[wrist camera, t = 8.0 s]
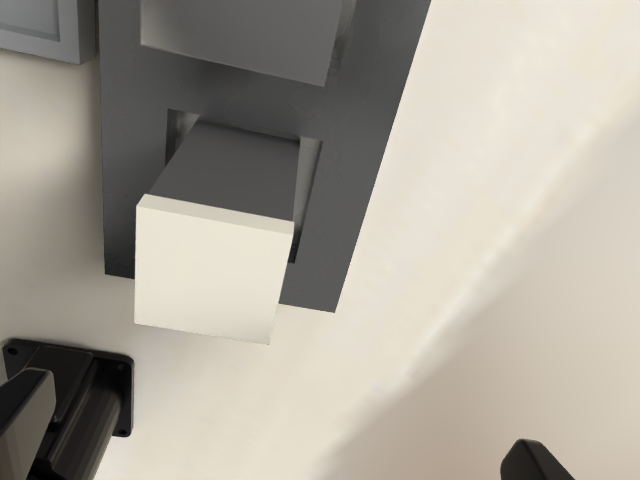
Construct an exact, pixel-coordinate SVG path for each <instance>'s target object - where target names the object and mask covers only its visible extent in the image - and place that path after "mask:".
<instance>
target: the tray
mask: <svg viewBox="0 0 640 480" xmlns="http://www.w3.org/2000/svg"><path fill="white" fill-rule="evenodd" d="M0 48H4V49H9V50H14V51H18V52H23V53H27V54H32V55H37V56H41V57H46V58H51V59H55V60H60V61H65V62H69V63H74V64H78V65H80V64H82V63H84V62H86V61H88V60H89V59H91V58H93V57H95V56H96V43H95V7H94V0H0Z"/></svg>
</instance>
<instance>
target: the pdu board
mask: <svg viewBox="0 0 640 480" xmlns="http://www.w3.org/2000/svg"><path fill="white" fill-rule="evenodd" d="M430 3H431V0H344V1H343V6H342V10H341V14H340V19H339V23H338V28H337V32H336V37H335V41H334V46H333V50H332V54H331V59H330V63H329V68H328V72H327V77H326V81H325V86H324V87H322V86H317V85H313V84H309V83H304V82H300V81H295V80H291V79H287V78H282V77H278V76H273V75H269V74H264V73H260V72H256V71H251V70H247V69H242V68H238V67H234V66H229V65H225V64H220V63H216V62H212V61H207V60H203V59H198V58H194V57H190V56H185V55H181V54H176V53H172V52H168V51H163V50H159V49H154V48H150V47H146V46H141V45H140V7H141V0H98V6H99V49H100V91H101V133H102V176H103V218H104V261H105V274H107V275H113V276H119V277H125V278H131V279H135V252H136V206H137V204H138V203H139V201H140V200H141V199H142V197H143V196H144V194H148V193H149V191H150V190H151V188H152V187H153V185H154V184H155V182H156V181H157V179H158V178H159V176H160V175H161V173H162V172H163V170H164V169H165V167H166V166H167V164H168V163H169V161H170V160H171V158H172V157H173V155H174V154H175V152H176V151H177V149H178V148H179V146H180V145H181V143H182V142H183V140H184V139H185V137H186V136H187V134H188V133H189V131H190V130H191V128H192V127H193V125H194V124H195V122H196V121H197V120H202V121H207V122H211V123H216V124H221V125H226V126H231V127H235V128H240V129H245V130H250V131H255V132H259V133H264V134H269V135H274V136H278V137H283V138H288V139H293V140H298V141H300V149H299V159H298V170H297V180H296V191H295V201H294V212H293V222H294V233H293V239H292V243H291V248H290V252H289V257H288V261H287V266H286V270H285V275H284V279H283V284H282V288H281V293H280V297H279V302H278V303H279V304H285V305H291V306H297V307H303V308H309V309H315V310H321V311H327V312H333V313H335V310H336V307H337V304H338V301H339V297H340V294H341V291H342V288H343V284H344V281H345V278H346V275H347V271H348V268H349V265H350V262H351V258H352V255H353V252H354V249H355V245H356V242H357V239H358V236H359V233H360V229H361V226H362V223H363V220H364V216H365V213H366V210H367V207H368V203H369V200H370V197H371V194H372V190H373V187H374V184H375V181H376V177H377V174H378V171H379V168H380V165H381V161H382V158H383V155H384V152H385V148H386V145H387V142H388V139H389V135H390V132H391V129H392V126H393V122H394V119H395V116H396V113H397V109H398V106H399V103H400V100H401V97H402V93H403V90H404V87H405V84H406V80H407V77H408V74H409V71H410V67H411V64H412V61H413V58H414V54H415V51H416V48H417V45H418V41H419V38H420V35H421V32H422V29H423V25H424V22H425V19H426V16H427V12H428V9H429V6H430Z"/></svg>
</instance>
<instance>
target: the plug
mask: <svg viewBox="0 0 640 480" xmlns="http://www.w3.org/2000/svg"><path fill="white" fill-rule="evenodd" d="M343 1H344V0H141V7H140V45H141V46H146V47H150V48H154V49H159V50H163V51H168V52H172V53H176V54H181V55H185V56H190V57H194V58H198V59H203V60H207V61H212V62H216V63H220V64H225V65H229V66H234V67H238V68H242V69H247V70H251V71H256V72H260V73H264V74H269V75H273V76H278V77H282V78H287V79H291V80H295V81H300V82H304V83H309V84H313V85H317V86H322V87H324V86H325V81H326V77H327V72H328V68H329V63H330V59H331V54H332V50H333V46H334V41H335V37H336V32H337V28H338V23H339V19H340V14H341V10H342V6H343Z"/></svg>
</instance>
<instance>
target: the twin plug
mask: <svg viewBox="0 0 640 480" xmlns="http://www.w3.org/2000/svg"><path fill="white" fill-rule="evenodd" d="M299 149H300V141H298V140H293V139H288V138H283V137H278V136H274V135H269V134H264V133H259V132H255V131H250V130H245V129H240V128H235V127H231V126H226V125H221V124H216V123H211V122H207V121H202V120H197V121H196V122H195V124H194V125H193V127H192V128H191V130H190V131H189V133H188V134H187V136H186V137H185V139H184V140H183V142H182V143H181V145H180V146H179V148H178V149H177V151H176V152H175V154H174V155H173V157H172V158H171V160H170V161H169V163H168V164H167V166H166V167H165V169H164V170H163V172H162V173H161V175H160V176H159V178H158V179H157V181H156V182H155V184H154V185H153V187H152V188H151V190H150V191H149V193H148V194H144V196H143V197H142V199H141V200H140V201H139V203H138V204H137V206H136V252H135V308H134V324H141V325H147V326H153V327H160V328H166V329H172V330H178V331H185V332H191V333H197V334H204V335H210V336H216V337H223V338H229V339H235V340H242V341H248V342H254V343H261V344H267V345H269V342H270V337H271V333H272V328H273V324H274V319H275V315H276V311H277V306H278V302H279V297H280V293H281V288H282V284H283V279H284V275H285V270H286V266H287V261H288V257H289V252H290V248H291V243H292V239H293V233H294V222H293V212H294V201H295V191H296V180H297V170H298V159H299Z"/></svg>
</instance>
